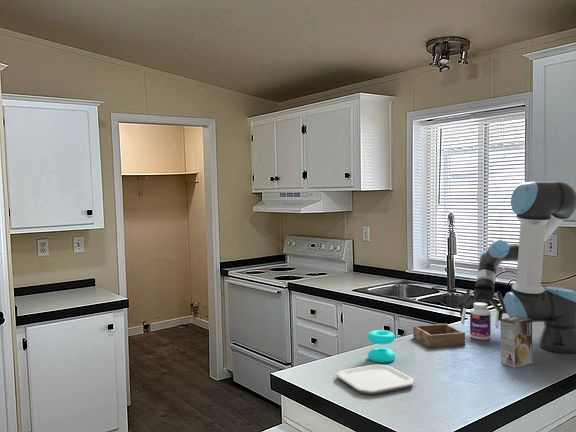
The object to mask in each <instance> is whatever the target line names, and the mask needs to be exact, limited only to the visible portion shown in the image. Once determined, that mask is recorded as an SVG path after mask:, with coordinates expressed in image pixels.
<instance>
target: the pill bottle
mask: <svg viewBox="0 0 576 432" xmlns="http://www.w3.org/2000/svg"><path fill="white" fill-rule="evenodd" d="M472 306H473V308H471V309H470V312H469V314H470V315H469V317H470V318H469V336H470V337H471V338H472V339H474V340H477V341H478V340H479V341H487V340H489V339H491V335H492V334H491V332H492V331H491V323H492V320H491V316H492V315H491V314H492V313H491V311H490V309H488V307H489V305H488V303H487V302H481V301H479V302H478V301H477V302H475V303H473V304H472Z"/></svg>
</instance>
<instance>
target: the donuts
mask: <svg viewBox="0 0 576 432" xmlns="http://www.w3.org/2000/svg"><path fill="white" fill-rule="evenodd" d="M367 339H368V340H369V342H371V343H372V344H376V345H388V344H392V343H393V342H394V341H395V339H396V335H395V333H393V332H392V331H390V330H387V329H386V330H385V329H375V330H372V331H369V332H368V334H367ZM367 357H368V359H369V360H370V361H372V362H374V363H379V362H380V364H381V363H385V364H386V363H391V362H393V361H394V360H395V359H396V353H395V352H394V350H392V349H391V348H387V347H375V348H371V349H370V350H369V351H368V353H367Z"/></svg>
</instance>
